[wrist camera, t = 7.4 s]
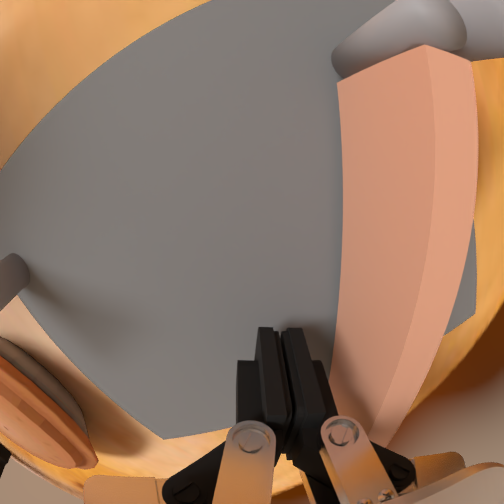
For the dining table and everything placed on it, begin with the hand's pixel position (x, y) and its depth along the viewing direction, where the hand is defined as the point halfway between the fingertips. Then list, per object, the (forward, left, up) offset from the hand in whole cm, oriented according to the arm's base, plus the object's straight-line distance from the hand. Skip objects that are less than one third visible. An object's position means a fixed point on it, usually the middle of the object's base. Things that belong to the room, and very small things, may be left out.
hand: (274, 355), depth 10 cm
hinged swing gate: (0, -3, -2) cm, 4 cm away
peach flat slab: (-4, -2, -1) cm, 5 cm away
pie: (+21, -1, -2) cm, 21 cm away
